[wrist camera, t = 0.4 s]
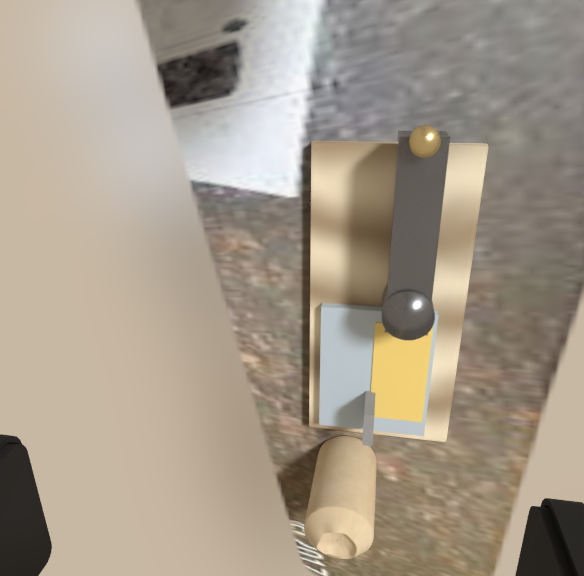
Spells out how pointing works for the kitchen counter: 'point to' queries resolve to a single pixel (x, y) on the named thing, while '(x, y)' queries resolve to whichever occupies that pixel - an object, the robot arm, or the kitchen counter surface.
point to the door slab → (372, 373)
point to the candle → (342, 498)
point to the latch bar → (415, 232)
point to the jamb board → (376, 249)
